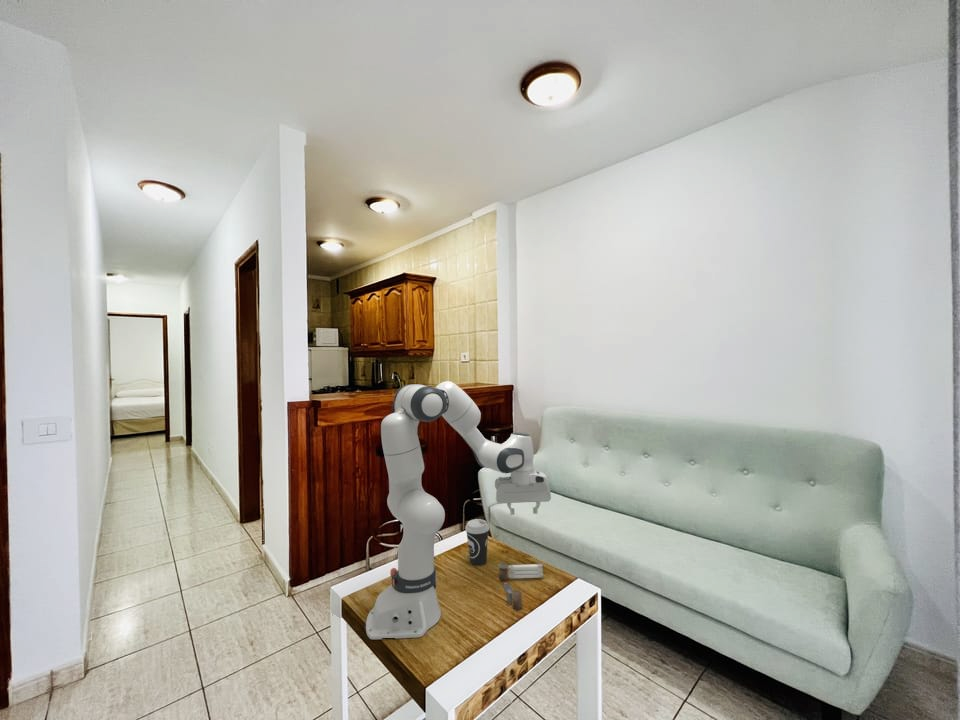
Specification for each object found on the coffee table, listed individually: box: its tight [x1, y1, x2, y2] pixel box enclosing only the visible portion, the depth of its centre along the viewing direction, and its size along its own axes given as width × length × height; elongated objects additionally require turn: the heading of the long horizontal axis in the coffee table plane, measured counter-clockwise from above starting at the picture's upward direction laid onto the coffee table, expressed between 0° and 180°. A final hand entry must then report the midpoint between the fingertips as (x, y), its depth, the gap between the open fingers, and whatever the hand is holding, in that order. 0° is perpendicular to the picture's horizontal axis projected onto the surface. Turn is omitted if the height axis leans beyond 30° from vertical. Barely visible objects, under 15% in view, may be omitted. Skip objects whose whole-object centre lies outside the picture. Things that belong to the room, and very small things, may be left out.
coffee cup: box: [464, 518, 490, 567], centre depth 149 cm, size 10×10×15 cm
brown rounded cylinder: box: [506, 589, 523, 611], centre depth 121 cm, size 4×5×5 cm, turn 13°
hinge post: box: [498, 562, 509, 583], centre depth 136 cm, size 3×3×5 cm
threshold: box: [502, 583, 514, 601], centre depth 128 cm, size 2×9×1 cm, turn 12°
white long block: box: [508, 563, 544, 579], centre depth 136 cm, size 12×2×4 cm, turn 90°
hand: (523, 513), depth 141 cm, fingers open, 7 cm apart
